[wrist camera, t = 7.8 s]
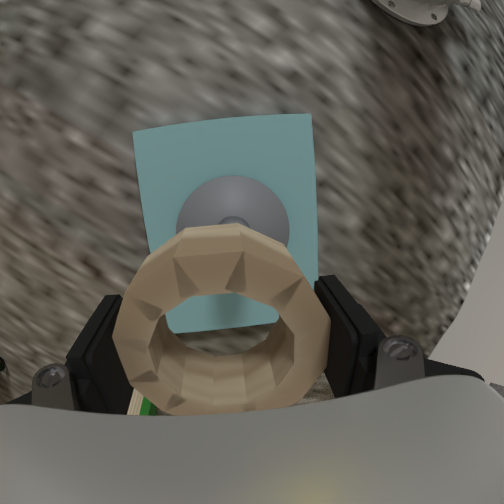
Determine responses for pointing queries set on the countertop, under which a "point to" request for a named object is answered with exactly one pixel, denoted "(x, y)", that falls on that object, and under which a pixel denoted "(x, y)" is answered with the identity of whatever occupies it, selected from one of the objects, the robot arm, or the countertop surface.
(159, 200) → the teal plate with knob
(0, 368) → the coffee press
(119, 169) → the countertop surface
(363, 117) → the countertop surface
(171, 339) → the ring
